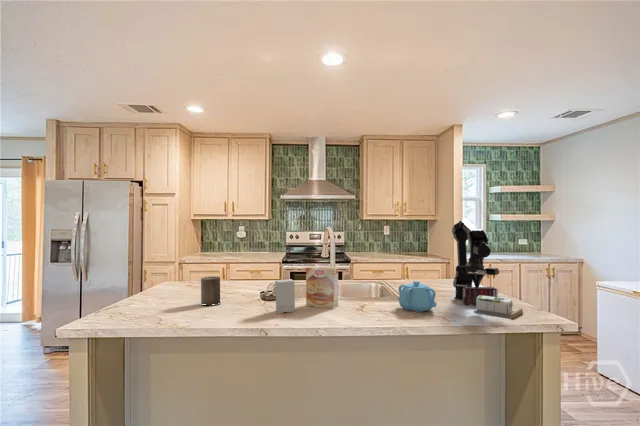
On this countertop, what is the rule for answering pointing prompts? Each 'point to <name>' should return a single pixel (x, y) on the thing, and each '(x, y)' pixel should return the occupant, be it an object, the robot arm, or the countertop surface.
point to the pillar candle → (210, 290)
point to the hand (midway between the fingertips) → (477, 288)
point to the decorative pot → (416, 297)
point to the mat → (511, 315)
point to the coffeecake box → (322, 286)
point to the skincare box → (285, 295)
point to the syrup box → (494, 304)
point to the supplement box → (477, 294)
